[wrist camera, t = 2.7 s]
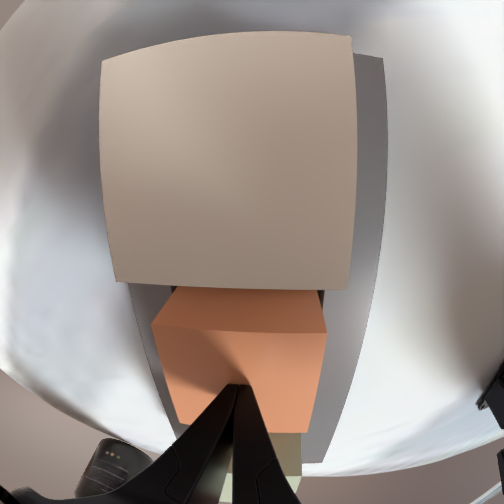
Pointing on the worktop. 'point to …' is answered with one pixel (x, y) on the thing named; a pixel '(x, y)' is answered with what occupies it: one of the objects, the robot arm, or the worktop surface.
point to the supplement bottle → (111, 468)
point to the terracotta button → (243, 350)
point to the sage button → (288, 457)
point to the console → (332, 301)
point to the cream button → (231, 161)
